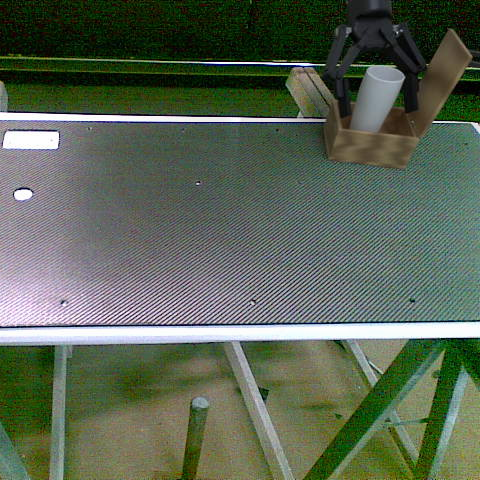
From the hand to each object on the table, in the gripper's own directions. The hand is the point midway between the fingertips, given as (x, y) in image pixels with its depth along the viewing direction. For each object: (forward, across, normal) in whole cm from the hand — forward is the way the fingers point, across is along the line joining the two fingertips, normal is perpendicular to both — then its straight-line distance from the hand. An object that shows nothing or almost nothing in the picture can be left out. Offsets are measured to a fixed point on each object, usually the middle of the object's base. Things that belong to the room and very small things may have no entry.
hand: (379, 114), depth 88 cm
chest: (+5, -1, -8) cm, 9 cm away
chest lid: (-4, -8, +5) cm, 10 cm away
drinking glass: (+4, 0, -8) cm, 9 cm away
